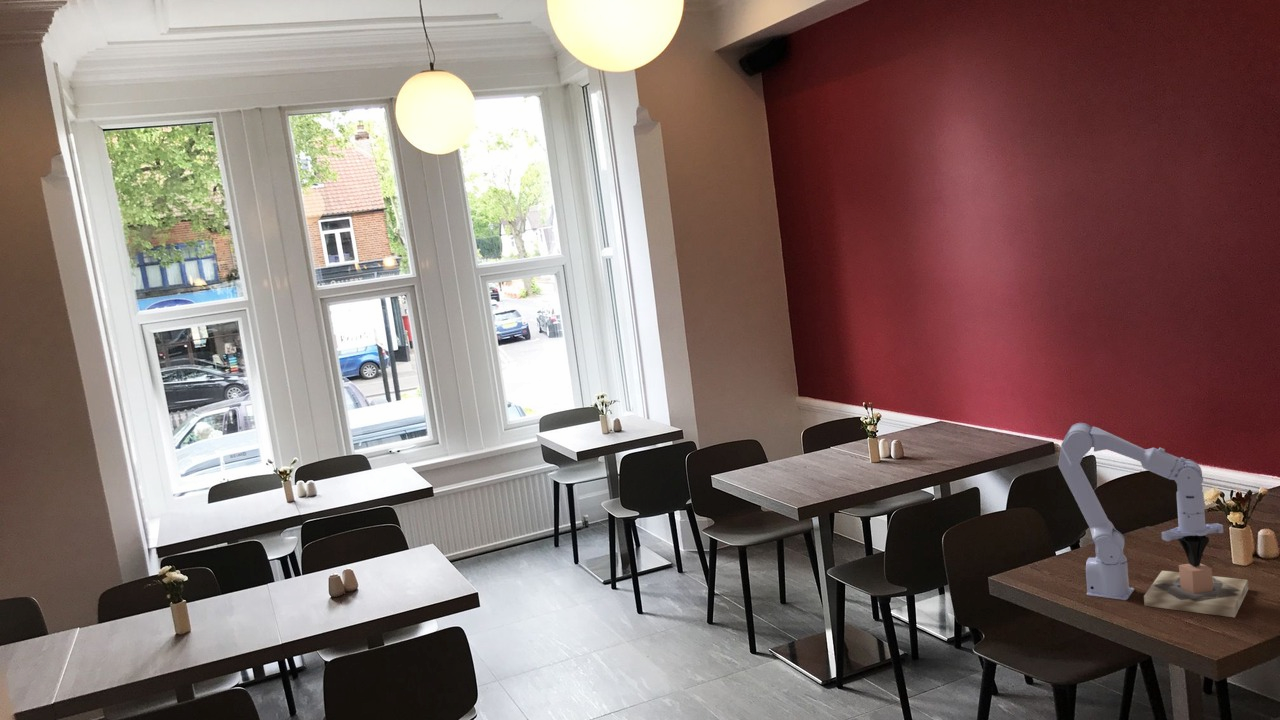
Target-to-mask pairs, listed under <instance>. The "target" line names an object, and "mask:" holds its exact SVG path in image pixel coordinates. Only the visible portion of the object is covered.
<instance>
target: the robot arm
mask: <svg viewBox="0 0 1280 720" xmlns="http://www.w3.org/2000/svg"><path fill="white" fill-rule="evenodd" d="M1092 448H1093V452H1100V451H1105V450H1108V451H1111V452H1113V453H1116V454H1118V455H1122V456H1125V457H1126V458H1129V459H1132V460H1135V461H1138V462H1140V464H1141V466H1142V468H1143V469H1144V470H1147V471H1149V472H1151V473H1152V474H1156V475H1158V476H1161V477H1162V478H1165V479H1168V480H1172V481H1174V482H1175V483H1176V487H1177V488H1176V489H1177V491H1176V493H1175V494H1176V495H1175V496H1176V509H1177V522H1178V523H1177V525H1178V526H1176V527H1174V528H1171V529H1170V528H1169V530H1164V531H1161V540H1162V541H1165V542H1171V540H1172V541H1173V540H1178V542H1179V543H1180V545H1181V547H1182V549H1183V551H1184V553H1185V554H1186V557H1187V560H1188V564H1190V565H1193V566H1200V563H1202V562H1201V561H1202V557H1203V554H1204V551H1205V549H1206V547H1207V545H1208V544H1209V542H1210V538H1209V537H1208V536H1207V535H1210V534H1217V533H1218V534H1224V525H1223V524H1220V523H1218V522H1215V523H1206V515H1205V514H1206V513H1205V499H1204V492H1203V487H1204V486H1203V481H1204V477H1203V471H1202V467H1201V466H1200V464H1198V463H1197V462H1195V461H1194V460H1193V459H1186V458H1185V457H1183V456H1181V457H1178V456H1175V455H1173V454H1171V453H1168V452H1166V450H1165V448H1162V447H1159V448H1156V447H1151V448H1147V449H1145V448H1143V447H1141V446H1139V445H1137V444H1134V443H1132V442H1130V441H1128V440H1125V439H1123V438H1122V437H1120V436H1117V435H1115V434H1113V433H1110V432H1108V431H1106V430H1103V429H1101V427H1097V426H1091V425H1089V424H1088V423H1085V422H1078V423H1075V424H1072V425H1071V427H1070V428H1069V430H1067V433H1066V434H1065V436H1064V438H1063V441H1062V442H1061V446H1060V452H1059V457H1058V458H1059V459H1058V462H1057V463H1058V464H1057V466H1058V468H1059V470H1060V472H1061V474H1062V476H1063V478H1064V480H1065V482H1066V484H1067V486H1068V488H1069V490H1070V493H1071V494H1072V495H1073V497H1074V500H1075V502H1076V503H1077V506H1078V508H1079V510H1080V511H1081V513H1082V515H1083V517H1084V519H1085V521H1086V523H1087V525H1088V527H1089V530H1090V533H1091V534H1090V535H1091V537H1092V541H1093V542H1094V545H1095V552H1094V553H1095V557H1088V558H1087V559H1086V561H1085V563H1086V564H1085V578H1086V591H1087V592H1086V595H1087V596H1091V597H1097V598H1107V599H1113V600H1114V599H1115V600H1121V601H1127V600H1128V599H1129V598H1130V596H1131V595H1132V594H1133V592H1134V591H1135V588H1134V587H1130V583H1129V582H1130V581H1129V567H1128V558H1127V556H1126V555H1125V554H1124V547H1125V544H1126V540H1125V537H1124V535H1123V534H1122V532H1120V531H1118V530H1117V529H1116V528H1115V526H1114V524H1113V523H1112V521H1110V519H1108V516H1107V514H1106V513H1105V510H1104V508H1103V507H1102V504H1101V503H1100V501H1099V499H1098V497H1097V495H1096V493H1095V491H1094V489H1093V487H1092V484H1091V483H1090V481H1089V479H1088V477H1087V475H1086V473H1085V471H1084V469H1083V467H1082V465H1081V462H1082V460H1083V458H1084V457H1085V455H1087V453H1089V451H1090V450H1091V449H1092Z"/></svg>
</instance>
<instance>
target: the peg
mask: <svg viewBox="0 0 1280 720" xmlns="http://www.w3.org/2000/svg"><path fill="white" fill-rule="evenodd" d="M1178 570H1179V571H1178V572H1179V575H1180V588H1182V589H1184V590H1186V591H1187V592H1189V593H1191V594H1196V593H1202V592H1208V591H1213V581H1212V576H1213V569H1212V567H1210V566H1208V565H1206V564H1203V563H1202V562H1200V566H1193V565H1190V564H1189V563H1184V564H1183V563H1182V564H1179V565H1178Z"/></svg>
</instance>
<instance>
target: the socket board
mask: <svg viewBox="0 0 1280 720" xmlns="http://www.w3.org/2000/svg"><path fill="white" fill-rule="evenodd" d="M1212 581H1213V591H1208V592H1202V593H1196V594H1191V593H1189V592H1187V591H1186V590H1184V589H1182V588H1180V575H1179V571H1171V570H1161V571H1160V573H1159V574H1158V575H1157V577H1156V578H1155V579H1154V581H1153V583H1152V584H1151V585H1150V587H1148V590H1147V591H1146V592H1145V594H1144V595H1143V601H1144V602H1143V603H1144V607H1150V608H1151V607H1152V608H1157V609H1158V608H1159V609H1165V610H1167V609H1168V610H1174V611H1183V612H1188V613H1197V614H1199V613H1200V614H1205V615H1211V616H1212V615H1213V616H1221V617H1228V618H1236V616H1237V614H1238V612H1239V610H1240V608H1241V605H1242V603H1243V601H1244V599H1245V598H1246V595H1247V593H1248V591H1249V580H1248V579H1244V578H1242V579H1241V578H1236V577H1235V578H1234V577H1225V576H1215V575H1212Z"/></svg>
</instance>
